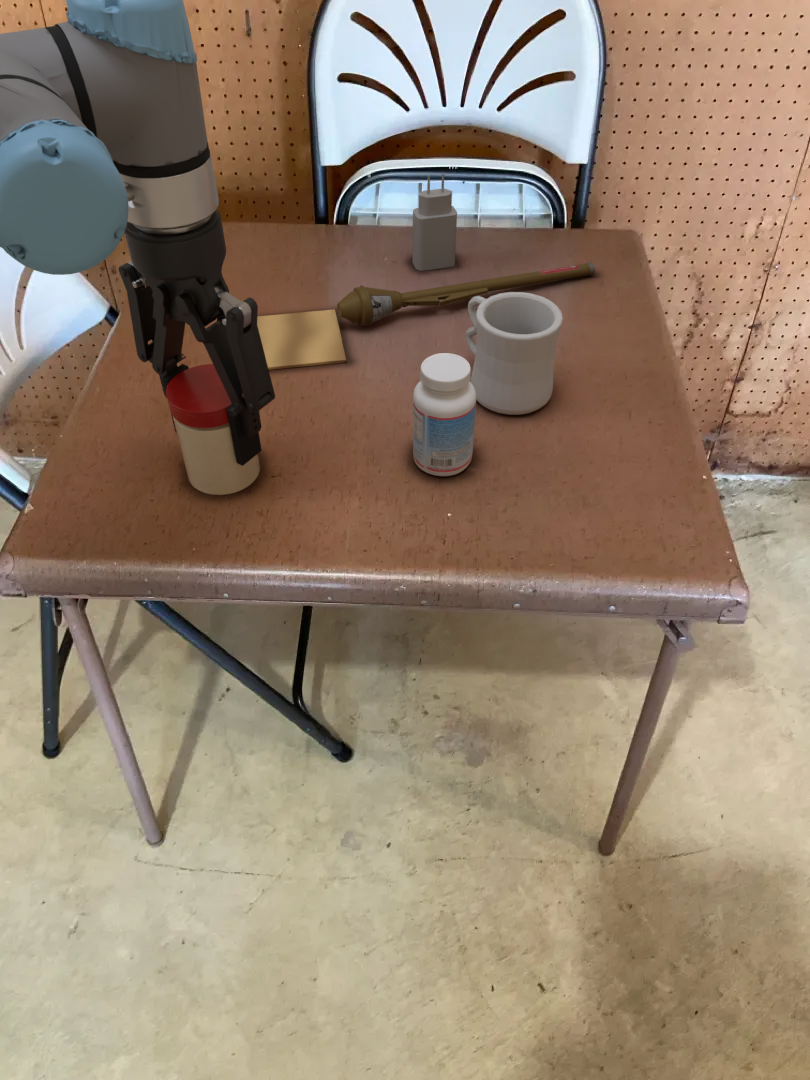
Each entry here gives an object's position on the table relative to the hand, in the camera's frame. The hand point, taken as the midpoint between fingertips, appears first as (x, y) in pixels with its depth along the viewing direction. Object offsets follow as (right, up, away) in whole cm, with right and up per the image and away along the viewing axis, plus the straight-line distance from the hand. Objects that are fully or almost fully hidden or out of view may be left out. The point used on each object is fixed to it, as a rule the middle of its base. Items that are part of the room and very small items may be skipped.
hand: (218, 441), depth 82 cm
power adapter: (+22, +28, +32) cm, 47 cm away
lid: (0, +4, -4) cm, 6 cm away
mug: (+29, +8, +13) cm, 32 cm away
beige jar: (0, -3, +3) cm, 4 cm away
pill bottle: (+22, -1, +4) cm, 22 cm away
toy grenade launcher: (+27, +21, +25) cm, 42 cm away
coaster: (+5, +14, +19) cm, 24 cm away
